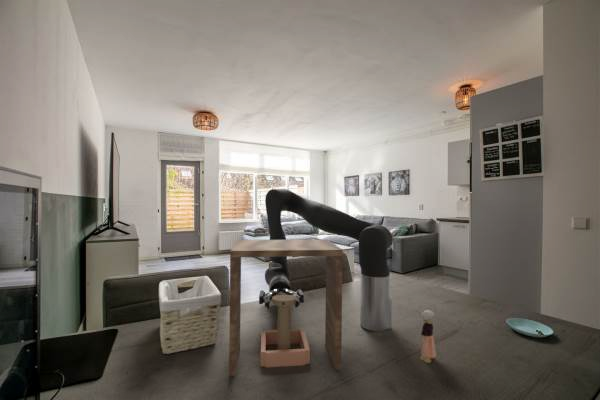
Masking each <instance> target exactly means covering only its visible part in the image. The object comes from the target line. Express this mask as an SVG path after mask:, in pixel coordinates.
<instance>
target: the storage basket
mask: <svg viewBox="0 0 600 400" xmlns="http://www.w3.org/2000/svg"><path fill="white" fill-rule="evenodd" d="M186 287H187V288H189V287H191V288H190V289H187V290H185V291H184V292H180V293H179V289H178V288H186ZM221 296H222V294H221V292H220V290H219V289H218V287H217V286H216V285H215V284H214V282H213V281H212V279H210V277H209V275H208V276H207V275H202V276H192V277H183V278H174V279H166V280H165V279H163V280H162V281H160V282H159V285H158V302H159V303H158V304H159V311H160V321H159V325H160V326H159V337H160V346H161V349H162V351H161V353H163V354H164V355H165V354H167V355H168V354H169V355H170V354H172V353H179V352H185V351H189V350H194V349H198V348H202V347H207V346H210V345H213V344H214V345H215V343H216V342H217V336H218V329H219V327H218V325H219V313H220V309H221V304H222V298H221Z"/></svg>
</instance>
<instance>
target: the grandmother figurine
mask: <svg viewBox="0 0 600 400" xmlns="http://www.w3.org/2000/svg"><path fill="white" fill-rule="evenodd" d="M420 316H421V318H422V319H423V321H424V324H423V325H422V330H421V334H420V339H419V341H420V343H422V345H421V356H420V357H419V358H420V360H421V361H423V362H425V363H428V364H430V363H432V360H434V359H435V358H436V357H437V352H436V346H435V339H434V325H433V323H434V321H435V313H434V312H433V311H432V310H430V309H425V310H423V311H422V313H421V314H420Z"/></svg>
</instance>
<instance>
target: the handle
mask: <svg viewBox="0 0 600 400" xmlns="http://www.w3.org/2000/svg"><path fill="white" fill-rule="evenodd" d="M272 303H273V304H272V305H274V306H277V323H276V330H277V344H276V345H277V350H290V349H291V344H292V343H291V329H292V322H291V307H292V306H295V303H296V297H295V296H293V295H275V296H273V297H272Z"/></svg>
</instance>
